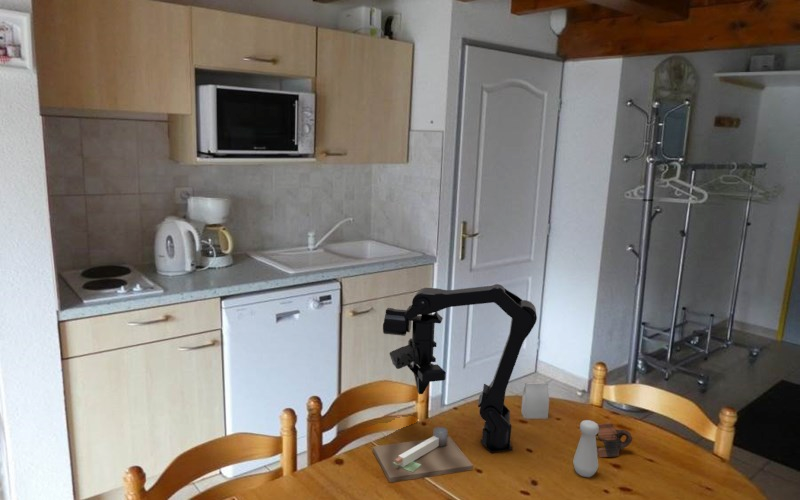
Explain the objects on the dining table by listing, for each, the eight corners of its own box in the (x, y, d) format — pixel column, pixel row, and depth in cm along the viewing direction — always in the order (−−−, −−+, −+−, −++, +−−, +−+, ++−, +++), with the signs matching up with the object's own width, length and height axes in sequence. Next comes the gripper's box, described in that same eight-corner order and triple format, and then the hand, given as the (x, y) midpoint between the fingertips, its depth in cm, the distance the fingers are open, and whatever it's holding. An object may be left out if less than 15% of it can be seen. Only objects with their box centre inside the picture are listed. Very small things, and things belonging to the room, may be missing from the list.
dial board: (449, 440, 154) (449, 435, 154) (472, 469, 140) (473, 464, 140) (372, 450, 147) (372, 445, 147) (389, 482, 134) (389, 477, 134)
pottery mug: (587, 459, 148) (581, 425, 151) (587, 458, 157) (581, 426, 160) (637, 454, 145) (629, 420, 148) (634, 453, 154) (627, 421, 157)
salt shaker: (598, 481, 138) (604, 430, 135) (573, 477, 139) (578, 426, 136) (595, 468, 143) (600, 418, 141) (571, 464, 144) (576, 415, 142)
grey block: (547, 418, 169) (550, 386, 167) (524, 418, 168) (527, 386, 166) (543, 412, 172) (546, 381, 171) (521, 412, 172) (523, 380, 170)
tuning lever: (438, 437, 152) (439, 425, 151) (449, 442, 150) (450, 430, 149) (390, 465, 138) (390, 451, 138) (401, 471, 136) (402, 457, 135)
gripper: (383, 328, 157) (381, 382, 160) (405, 351, 140) (402, 412, 143) (421, 325, 161) (419, 379, 163) (447, 348, 143) (444, 407, 146)
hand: (420, 393), depth 154 cm, fingers closed
